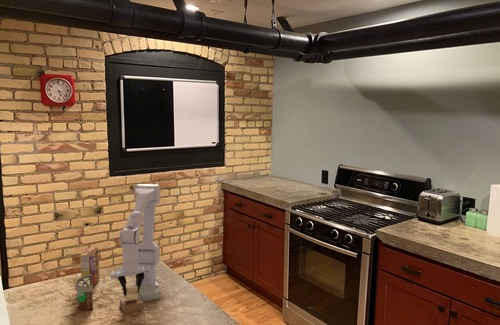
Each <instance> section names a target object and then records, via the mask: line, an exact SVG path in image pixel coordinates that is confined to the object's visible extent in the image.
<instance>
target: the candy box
mask: <svg viewBox="0 0 500 325" xmlns="http://www.w3.org/2000/svg"><path fill="white" fill-rule="evenodd" d="M79 261H80V276H81V277H83V276H86V275H90V274H92V289H94V287H95V286H97V284H98V283H99V282H100V281H101V277H100V276H101V275H100V274H101V273H100V258H99V248H98V247H89V248H88V249H86V250H84V252H82V253H81V254H80V255H79ZM81 277H80V278H81Z"/></svg>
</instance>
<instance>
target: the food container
mask: <svg viewBox="0 0 500 325" xmlns="http://www.w3.org/2000/svg"><path fill="white" fill-rule="evenodd" d="M74 285H75V286H74V290H75V291H76V293H77V302H78V303H77V304H78V309H79V310H82V311H88V312H89V311H94V303H93V302H94V300H93V299H94V298H93V297H94V296H93V288H92V274H90V275H86V276H83V277H79V278H77V279H76V282H75V284H74Z"/></svg>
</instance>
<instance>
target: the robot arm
mask: <svg viewBox="0 0 500 325" xmlns="http://www.w3.org/2000/svg"><path fill="white" fill-rule="evenodd" d="M133 192H134V197H135V205H134V209H133V211H132V212H130V213H129V215H128V219H127V221H126V224H125V226H124V228H123V229H121V230H120V232H119V239H118V240H119V243H120V249H121V250H122V269H120V270H116V271H114V272H113V271H112V272H110V274H109V276H110V277H109V278H110V280H111V281H112V280H115V279H117V280H118V281H119V284H120V286H121V288H122V291H123V296H124V297H125V296H126V284H127V279H126V277H135V282H136V284H137V286H138V293H139V290H140V288H142V287H147V286H152V285H155V286H156V287H159V283H158V281H157V274H156V273H157V265H158V264H159V262H160V259H161V258H160V257H161V253H160V252H161V251H160V246H159V245H158V244H157V243H156V242H154V236H155V220H156V209H157V208H156V206H157V204H160V203H161V192H162V190H161V186H160V185H159V184H158V183H157V184H145V183H144V184H142V183H137V184H136V185H135V187H134V191H133ZM141 228H142V229H141ZM141 233H142V235H141ZM141 237H142V238H141ZM140 240H141V242H140Z"/></svg>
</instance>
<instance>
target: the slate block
mask: <svg viewBox="0 0 500 325" xmlns="http://www.w3.org/2000/svg"><path fill="white" fill-rule="evenodd" d="M138 295H139V297H140V298H141V300H142V302H143V303H144V302H147V301H148V302H149V301H153V300H158V299H161V297H160V296H161V292H160V290H159V289H158V286H155V285H152V286H147V287H142V288H140V290H139V293H138Z"/></svg>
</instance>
